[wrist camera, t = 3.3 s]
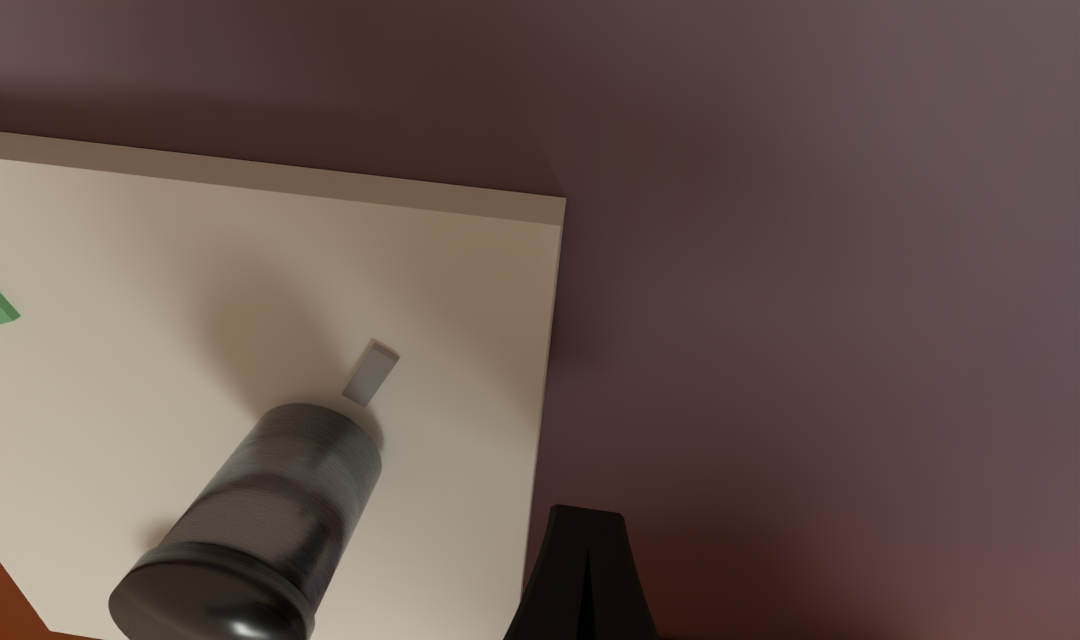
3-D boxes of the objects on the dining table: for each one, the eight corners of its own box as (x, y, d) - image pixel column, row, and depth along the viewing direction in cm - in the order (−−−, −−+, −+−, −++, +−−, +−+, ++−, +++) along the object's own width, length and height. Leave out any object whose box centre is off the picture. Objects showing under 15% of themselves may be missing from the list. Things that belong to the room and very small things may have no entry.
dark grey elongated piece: (260, 649, 18) (174, 813, 14) (141, 598, 17) (18, 760, 13) (425, 456, 12) (349, 647, 9) (260, 365, 11) (102, 537, 8)
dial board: (566, 198, 11) (559, 230, 9) (514, 660, 20) (507, 711, 19) (-219, 106, 12) (-335, 122, 10) (83, 592, 21) (45, 636, 20)
